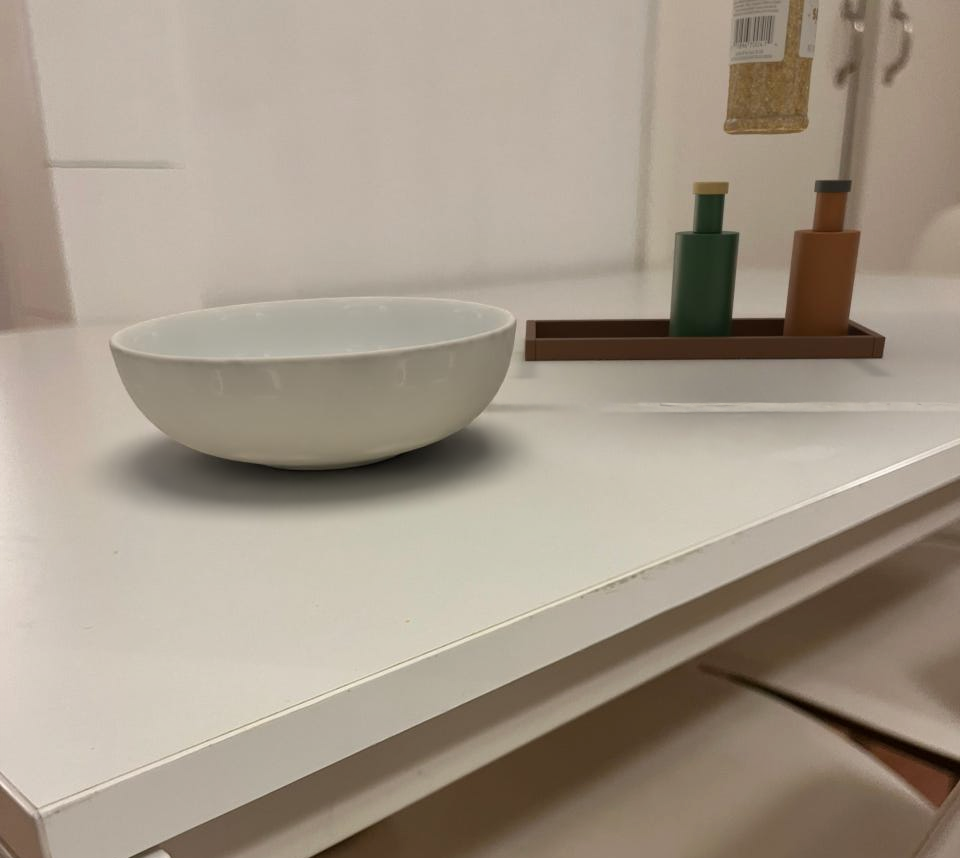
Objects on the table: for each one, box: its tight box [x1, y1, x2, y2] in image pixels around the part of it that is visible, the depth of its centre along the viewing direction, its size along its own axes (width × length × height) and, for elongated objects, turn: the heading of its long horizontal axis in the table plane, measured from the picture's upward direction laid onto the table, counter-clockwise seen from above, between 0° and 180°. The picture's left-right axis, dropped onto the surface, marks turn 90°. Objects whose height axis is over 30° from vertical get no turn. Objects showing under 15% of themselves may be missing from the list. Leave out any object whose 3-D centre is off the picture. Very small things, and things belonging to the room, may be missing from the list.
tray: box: [524, 317, 886, 362], centre depth 80 cm, size 27×11×2 cm, turn 87°
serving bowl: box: [108, 296, 518, 471], centre depth 54 cm, size 21×21×7 cm
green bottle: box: [669, 181, 741, 337], centre depth 78 cm, size 5×5×12 cm
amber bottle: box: [783, 179, 862, 336], centre depth 77 cm, size 5×5×12 cm
